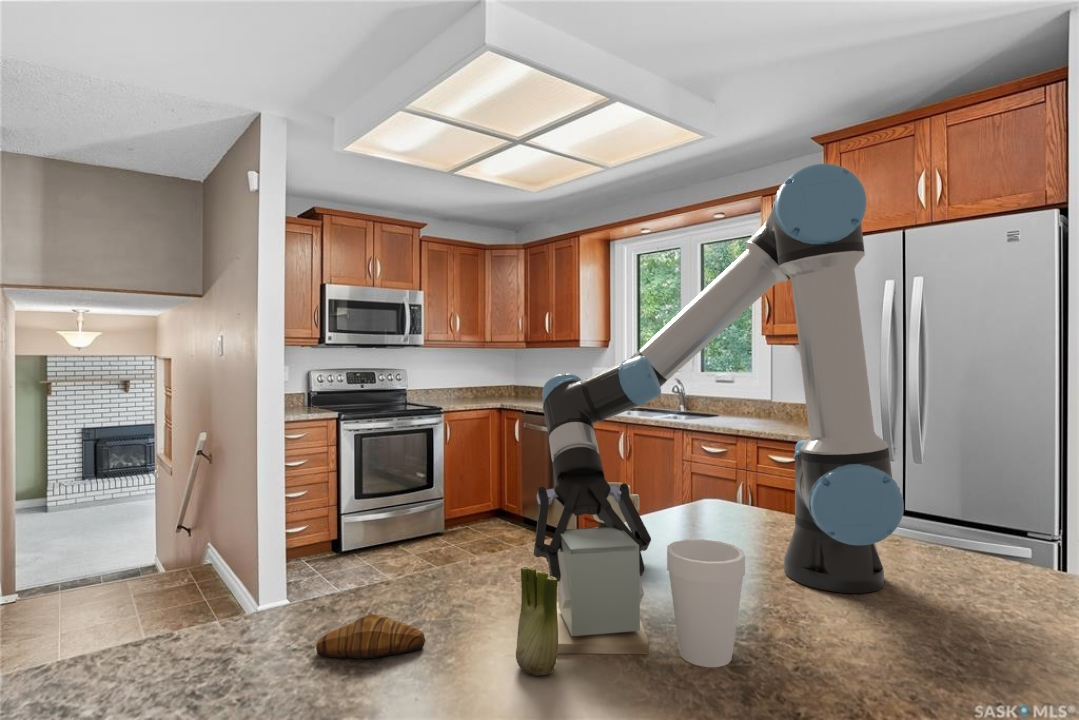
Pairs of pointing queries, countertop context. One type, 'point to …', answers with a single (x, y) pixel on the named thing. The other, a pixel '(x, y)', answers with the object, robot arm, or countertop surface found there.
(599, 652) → the board
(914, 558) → the countertop surface
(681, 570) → the foam cup
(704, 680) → the countertop surface
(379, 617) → the croissant
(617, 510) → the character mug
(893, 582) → the countertop surface
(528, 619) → the fennel bulb
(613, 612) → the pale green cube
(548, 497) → the robot arm
